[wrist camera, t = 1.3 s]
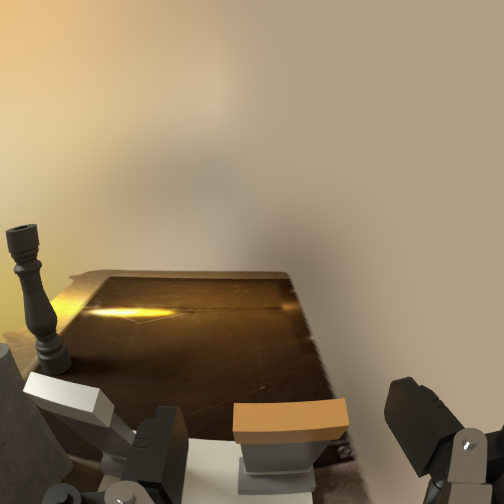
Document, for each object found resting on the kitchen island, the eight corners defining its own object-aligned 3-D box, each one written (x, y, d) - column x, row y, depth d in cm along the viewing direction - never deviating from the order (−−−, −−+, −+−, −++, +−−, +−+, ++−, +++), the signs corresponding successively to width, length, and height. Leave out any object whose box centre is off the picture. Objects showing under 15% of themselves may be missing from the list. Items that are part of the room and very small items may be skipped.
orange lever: (308, 474, 23) (349, 425, 14) (244, 476, 23) (232, 431, 14) (307, 459, 24) (344, 398, 15) (244, 461, 24) (234, 403, 15)
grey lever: (160, 469, 23) (92, 412, 14) (107, 457, 23) (22, 391, 14) (162, 454, 25) (99, 388, 15) (109, 444, 25) (31, 371, 16)
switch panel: (315, 521, 19) (319, 512, 18) (98, 500, 19) (88, 488, 19) (305, 446, 30) (307, 433, 29) (125, 435, 30) (119, 421, 29)
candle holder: (66, 375, 40) (27, 229, 33) (38, 374, 38) (-3, 234, 31) (75, 355, 45) (43, 222, 38) (48, 355, 44) (15, 226, 37)
